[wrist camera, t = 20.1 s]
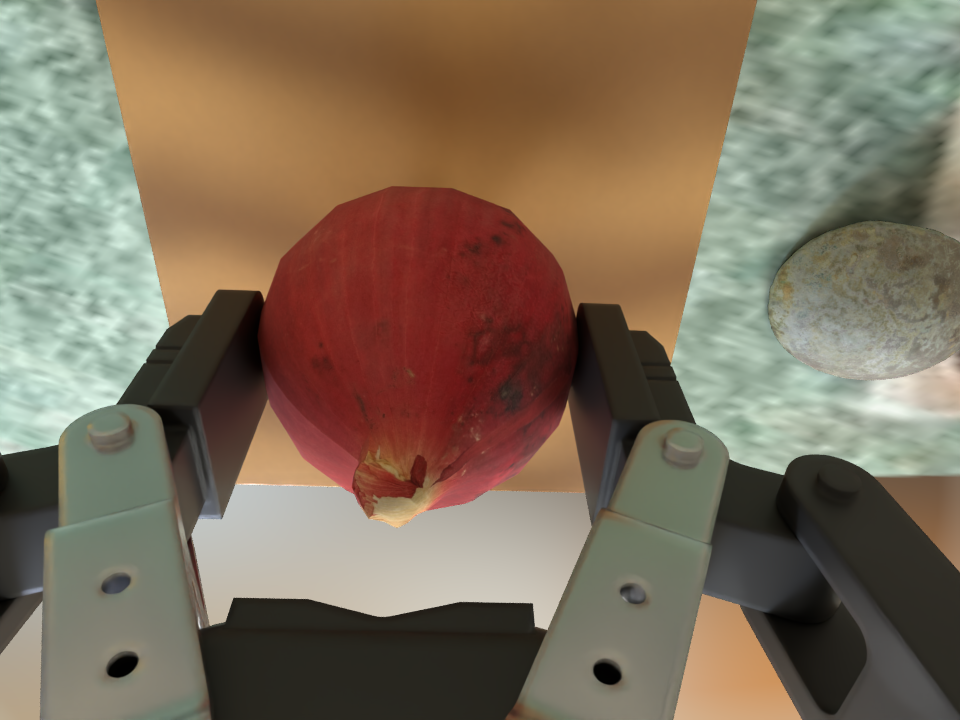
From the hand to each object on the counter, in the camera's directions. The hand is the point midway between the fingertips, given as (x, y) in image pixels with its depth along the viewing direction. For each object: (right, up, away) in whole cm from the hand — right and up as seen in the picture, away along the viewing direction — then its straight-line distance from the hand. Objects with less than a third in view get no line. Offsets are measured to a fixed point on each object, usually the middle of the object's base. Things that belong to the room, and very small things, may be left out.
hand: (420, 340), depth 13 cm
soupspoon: (+23, +2, +15) cm, 28 cm away
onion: (0, +2, +3) cm, 4 cm away
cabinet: (0, +7, +11) cm, 13 cm away
